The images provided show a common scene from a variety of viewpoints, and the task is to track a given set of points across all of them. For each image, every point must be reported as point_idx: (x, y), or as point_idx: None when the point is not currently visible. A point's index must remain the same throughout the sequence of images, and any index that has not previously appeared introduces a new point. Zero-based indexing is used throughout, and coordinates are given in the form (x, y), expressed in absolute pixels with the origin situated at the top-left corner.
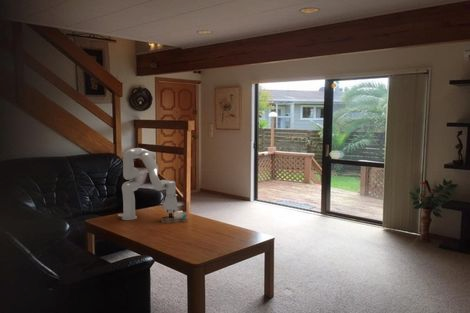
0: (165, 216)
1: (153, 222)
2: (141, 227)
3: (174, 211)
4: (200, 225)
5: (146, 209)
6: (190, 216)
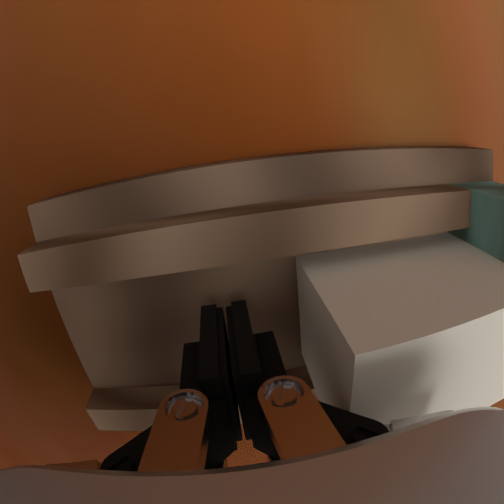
0: (90, 264)
1: (5, 348)
2: (18, 463)
3: (369, 386)
4: (499, 405)
5: None
6: (500, 34)
